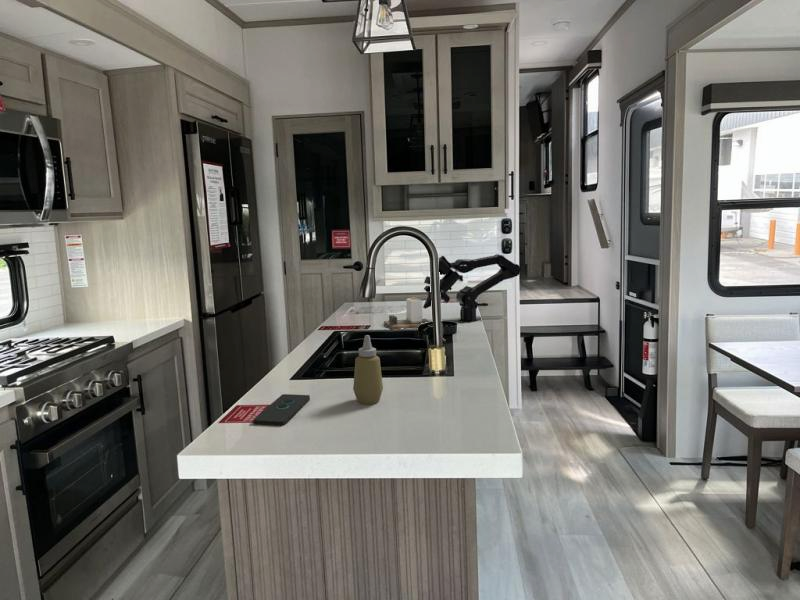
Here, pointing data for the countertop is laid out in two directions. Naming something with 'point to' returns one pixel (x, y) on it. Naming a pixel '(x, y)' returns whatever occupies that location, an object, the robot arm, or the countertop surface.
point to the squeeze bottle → (367, 374)
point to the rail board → (401, 323)
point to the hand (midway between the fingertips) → (423, 307)
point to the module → (414, 310)
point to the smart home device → (282, 410)
